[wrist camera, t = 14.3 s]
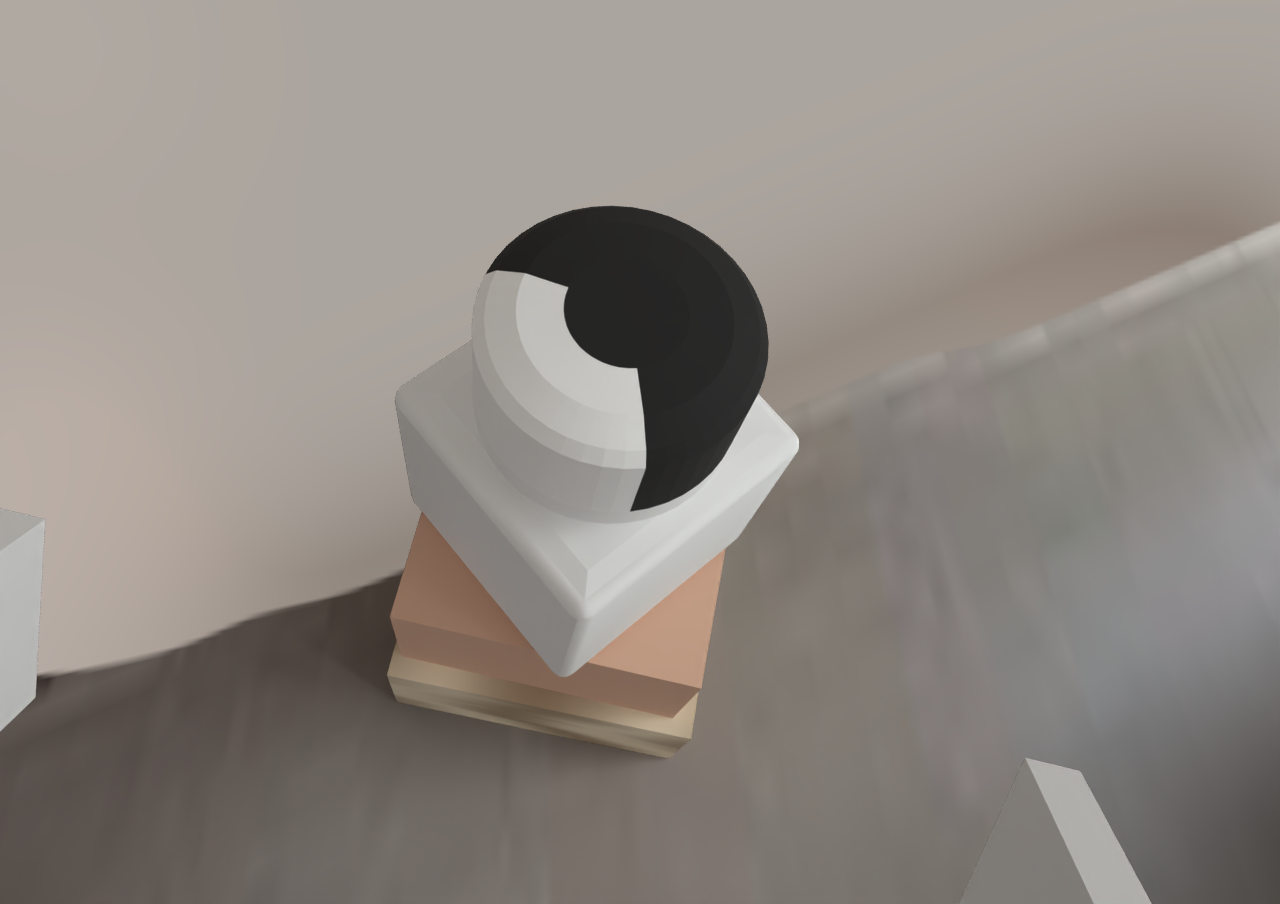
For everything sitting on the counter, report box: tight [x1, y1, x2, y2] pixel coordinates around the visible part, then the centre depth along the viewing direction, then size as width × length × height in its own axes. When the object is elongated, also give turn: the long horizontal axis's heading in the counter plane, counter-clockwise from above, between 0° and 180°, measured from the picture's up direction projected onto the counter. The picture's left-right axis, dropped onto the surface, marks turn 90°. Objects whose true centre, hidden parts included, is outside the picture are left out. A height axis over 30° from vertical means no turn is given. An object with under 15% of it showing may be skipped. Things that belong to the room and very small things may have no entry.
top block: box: [390, 512, 726, 718], centre depth 34 cm, size 9×9×5 cm
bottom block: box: [387, 641, 699, 759], centre depth 39 cm, size 10×10×5 cm
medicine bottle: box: [395, 206, 799, 677], centre depth 26 cm, size 7×7×12 cm
